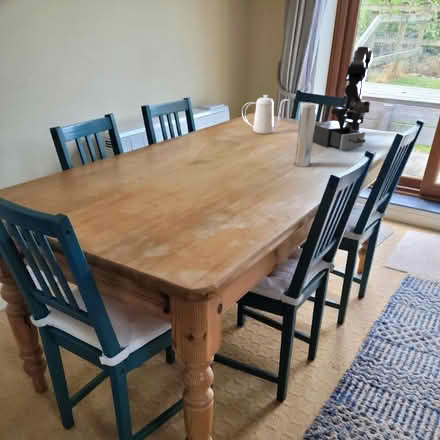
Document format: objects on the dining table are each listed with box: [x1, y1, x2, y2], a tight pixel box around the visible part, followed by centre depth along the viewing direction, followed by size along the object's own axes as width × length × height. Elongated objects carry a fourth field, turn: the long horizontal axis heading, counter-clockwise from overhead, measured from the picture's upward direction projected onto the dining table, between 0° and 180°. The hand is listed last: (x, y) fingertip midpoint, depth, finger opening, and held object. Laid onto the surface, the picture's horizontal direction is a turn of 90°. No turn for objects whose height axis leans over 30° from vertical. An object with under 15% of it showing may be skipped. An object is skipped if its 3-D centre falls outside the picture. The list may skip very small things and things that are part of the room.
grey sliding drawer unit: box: [313, 120, 352, 148], centre depth 228 cm, size 14×15×9 cm
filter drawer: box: [328, 128, 366, 151], centre depth 219 cm, size 17×13×7 cm
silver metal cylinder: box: [294, 102, 317, 167], centre depth 192 cm, size 6×6×25 cm
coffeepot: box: [241, 94, 290, 135], centre depth 242 cm, size 11×25×19 cm, turn 84°
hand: (347, 129), depth 217 cm, fingers open, 7 cm apart
